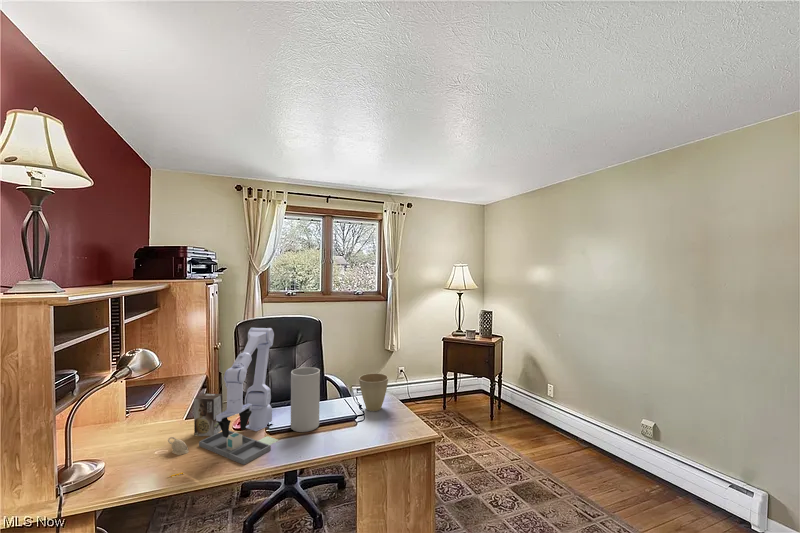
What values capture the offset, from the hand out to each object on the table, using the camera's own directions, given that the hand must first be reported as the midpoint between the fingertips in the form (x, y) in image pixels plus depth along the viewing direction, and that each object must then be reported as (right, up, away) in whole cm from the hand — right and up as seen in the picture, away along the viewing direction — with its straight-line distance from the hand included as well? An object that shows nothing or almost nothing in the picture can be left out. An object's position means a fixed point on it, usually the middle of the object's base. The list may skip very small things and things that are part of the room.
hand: (234, 432), depth 144 cm
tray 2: (0, -6, 0) cm, 6 cm away
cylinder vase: (+22, -7, +21) cm, 31 cm away
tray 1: (-8, -6, +5) cm, 11 cm away
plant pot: (+52, -7, +42) cm, 67 cm away
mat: (+11, -7, +6) cm, 14 cm away
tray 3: (+8, -7, -4) cm, 11 cm away
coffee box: (-17, -6, +13) cm, 23 cm away
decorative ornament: (-20, -7, -3) cm, 21 cm away
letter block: (0, -6, 0) cm, 6 cm away
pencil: (-7, -7, -15) cm, 17 cm away
